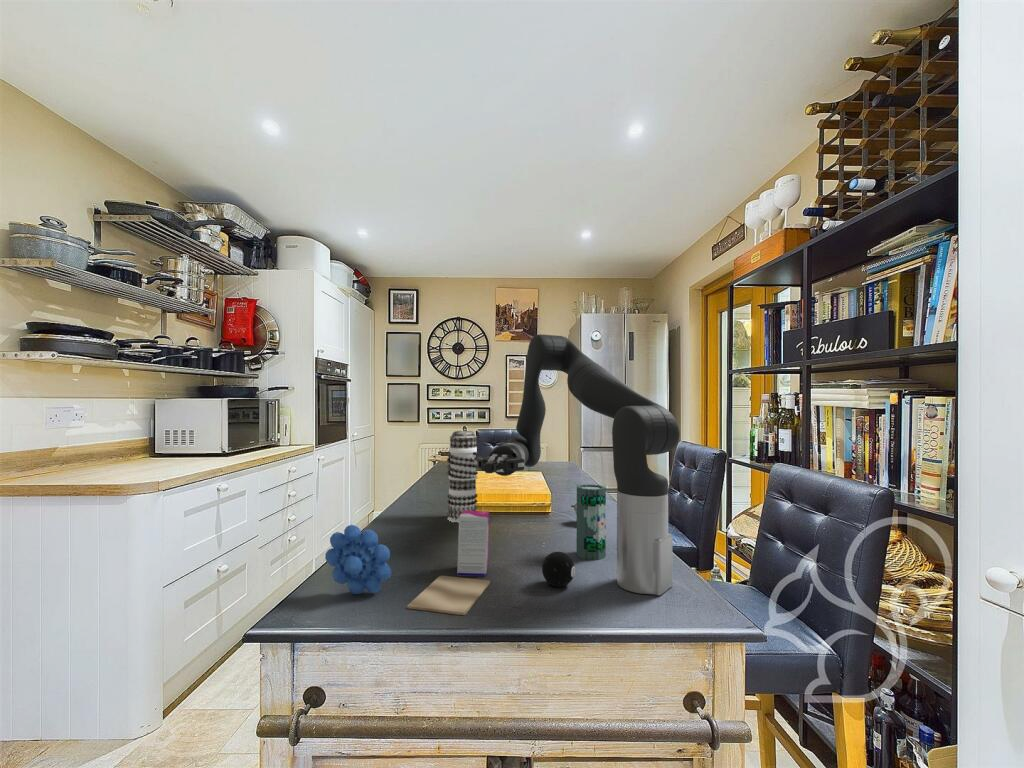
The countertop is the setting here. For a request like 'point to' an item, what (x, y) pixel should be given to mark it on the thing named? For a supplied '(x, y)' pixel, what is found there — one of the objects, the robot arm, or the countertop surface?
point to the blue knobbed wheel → (358, 560)
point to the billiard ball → (558, 569)
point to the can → (591, 522)
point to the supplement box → (473, 543)
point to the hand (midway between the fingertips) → (488, 468)
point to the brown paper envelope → (449, 595)
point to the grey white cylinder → (462, 474)
